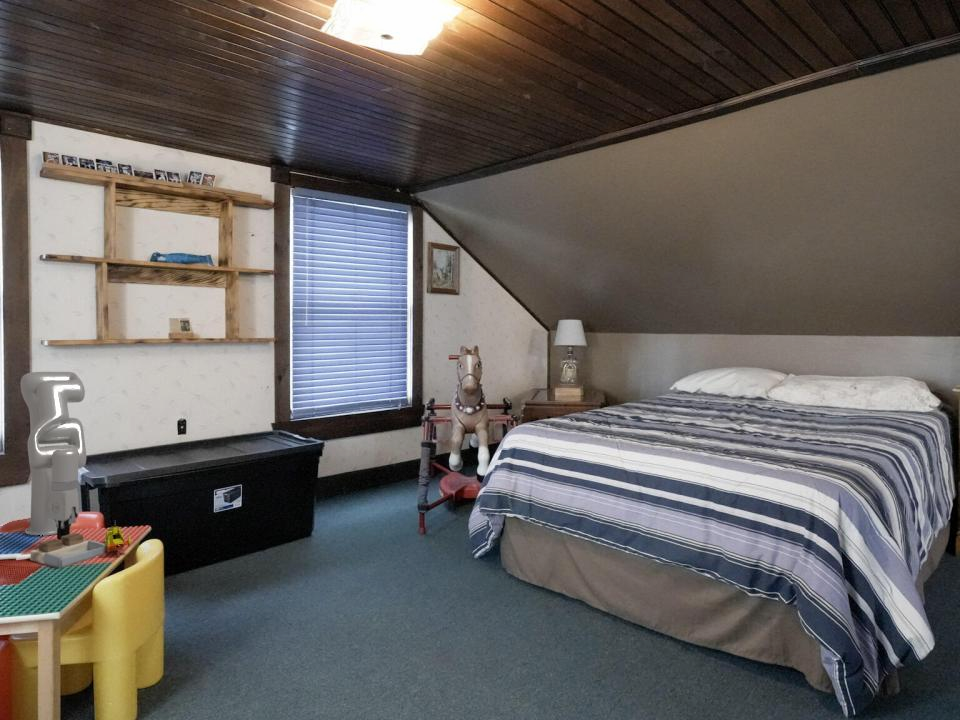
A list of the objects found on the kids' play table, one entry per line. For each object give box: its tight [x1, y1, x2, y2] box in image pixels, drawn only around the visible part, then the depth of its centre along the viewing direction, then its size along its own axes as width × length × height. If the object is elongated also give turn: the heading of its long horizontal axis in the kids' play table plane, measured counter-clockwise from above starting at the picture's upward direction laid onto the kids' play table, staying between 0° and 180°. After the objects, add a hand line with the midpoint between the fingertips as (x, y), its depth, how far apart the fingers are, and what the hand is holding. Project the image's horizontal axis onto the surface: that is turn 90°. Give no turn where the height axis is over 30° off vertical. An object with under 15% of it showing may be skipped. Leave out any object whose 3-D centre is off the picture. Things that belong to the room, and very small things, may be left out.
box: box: [43, 539, 106, 570], centre depth 200 cm, size 8×15×4 cm, turn 157°
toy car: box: [104, 520, 131, 556], centre depth 210 cm, size 6×18×10 cm, turn 39°
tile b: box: [38, 538, 62, 553], centre depth 199 cm, size 4×4×2 cm
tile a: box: [60, 532, 84, 546], centre depth 206 cm, size 4×4×2 cm
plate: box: [30, 539, 89, 565], centre depth 202 cm, size 7×15×3 cm, turn 157°
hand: (63, 538), depth 207 cm, fingers closed
